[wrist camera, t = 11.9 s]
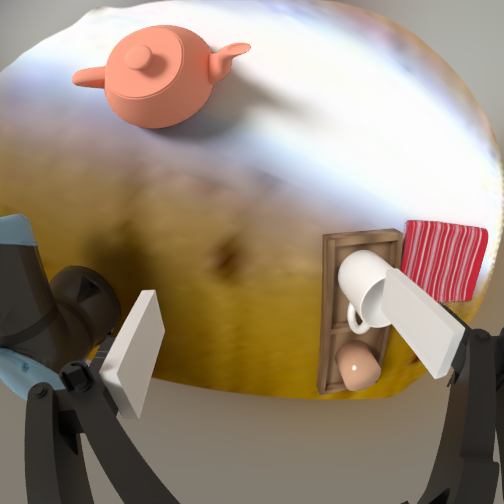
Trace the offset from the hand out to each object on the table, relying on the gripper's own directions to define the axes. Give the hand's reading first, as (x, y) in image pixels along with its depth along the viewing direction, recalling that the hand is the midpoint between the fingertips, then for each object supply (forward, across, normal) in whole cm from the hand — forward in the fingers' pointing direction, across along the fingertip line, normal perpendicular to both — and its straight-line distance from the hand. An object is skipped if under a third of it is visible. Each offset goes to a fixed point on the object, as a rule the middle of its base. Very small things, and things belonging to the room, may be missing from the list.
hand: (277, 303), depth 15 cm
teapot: (+28, -10, +20) cm, 36 cm away
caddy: (+27, +18, -22) cm, 39 cm away
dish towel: (+28, +37, -13) cm, 48 cm away
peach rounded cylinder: (+26, +18, -30) cm, 44 cm away
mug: (+26, +17, -13) cm, 34 cm away
